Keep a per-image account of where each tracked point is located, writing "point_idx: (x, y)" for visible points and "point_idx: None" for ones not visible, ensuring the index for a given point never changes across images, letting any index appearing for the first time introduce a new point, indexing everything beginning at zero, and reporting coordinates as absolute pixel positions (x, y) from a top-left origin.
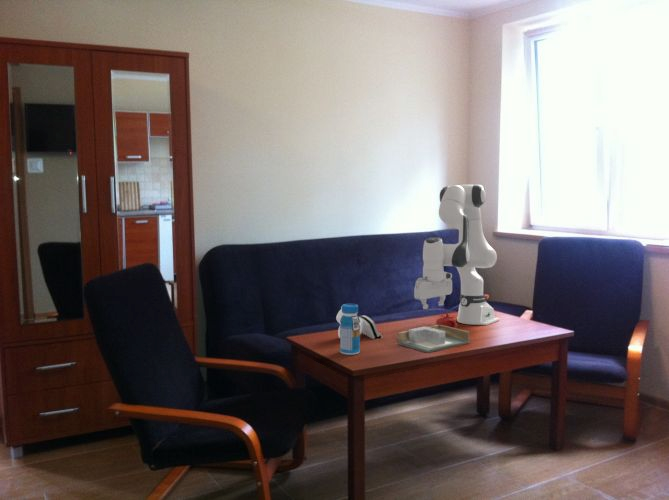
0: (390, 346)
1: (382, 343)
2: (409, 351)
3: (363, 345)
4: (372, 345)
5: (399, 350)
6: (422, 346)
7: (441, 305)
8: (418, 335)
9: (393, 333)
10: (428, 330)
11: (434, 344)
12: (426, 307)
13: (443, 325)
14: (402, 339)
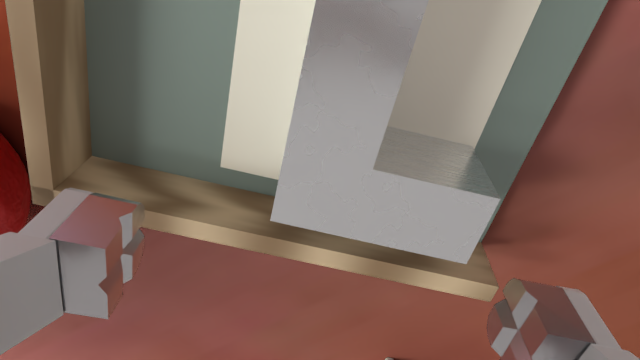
0: (551, 250)
1: None
2: (632, 97)
3: None
4: None
5: (631, 164)
6: (517, 63)
7: (129, 201)
8: (449, 166)
9: (266, 357)
10: (385, 128)
11: None
12: (581, 303)
13: (29, 162)
14: None
